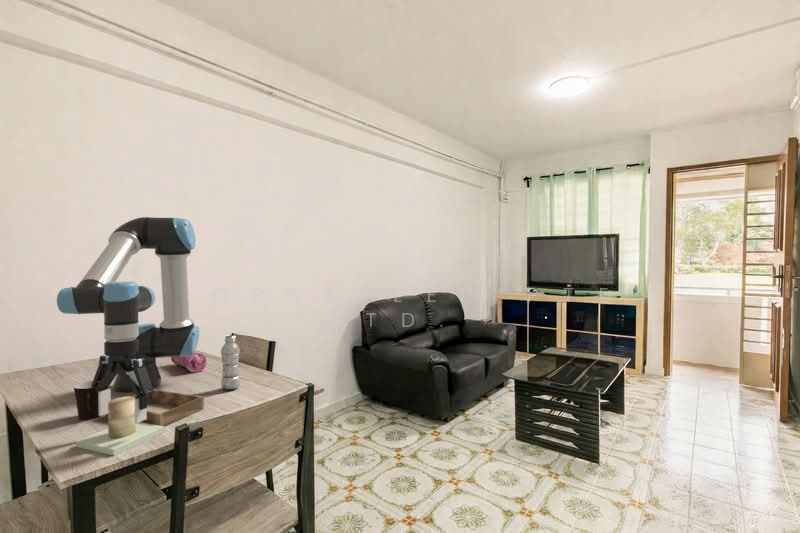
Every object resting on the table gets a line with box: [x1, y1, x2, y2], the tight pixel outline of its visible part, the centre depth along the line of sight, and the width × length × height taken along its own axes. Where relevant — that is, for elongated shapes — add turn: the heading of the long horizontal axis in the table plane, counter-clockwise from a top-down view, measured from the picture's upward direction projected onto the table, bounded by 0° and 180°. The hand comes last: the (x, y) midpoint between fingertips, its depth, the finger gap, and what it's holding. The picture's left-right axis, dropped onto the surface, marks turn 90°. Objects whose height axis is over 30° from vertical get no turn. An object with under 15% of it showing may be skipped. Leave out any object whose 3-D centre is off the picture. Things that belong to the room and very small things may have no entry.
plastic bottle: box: [220, 334, 241, 391], centre depth 145 cm, size 6×7×20 cm
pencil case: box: [170, 351, 207, 373], centre depth 173 cm, size 21×9×9 cm, turn 48°
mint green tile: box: [75, 422, 166, 456], centre depth 104 cm, size 14×14×2 cm
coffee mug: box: [73, 380, 109, 421], centre depth 118 cm, size 12×9×10 cm
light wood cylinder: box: [107, 396, 136, 439], centre depth 104 cm, size 6×6×9 cm
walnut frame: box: [104, 388, 205, 428], centre depth 122 cm, size 23×16×4 cm
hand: (122, 417), depth 104 cm, fingers open, 13 cm apart
